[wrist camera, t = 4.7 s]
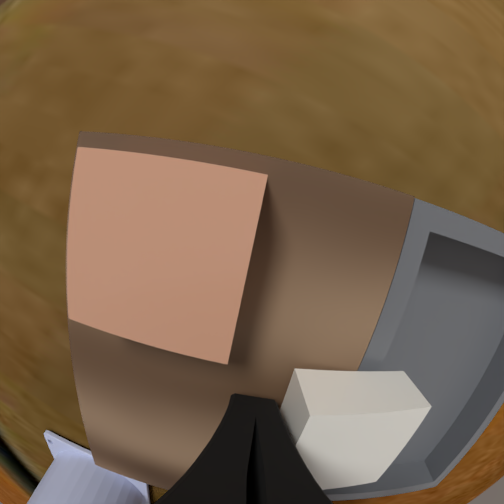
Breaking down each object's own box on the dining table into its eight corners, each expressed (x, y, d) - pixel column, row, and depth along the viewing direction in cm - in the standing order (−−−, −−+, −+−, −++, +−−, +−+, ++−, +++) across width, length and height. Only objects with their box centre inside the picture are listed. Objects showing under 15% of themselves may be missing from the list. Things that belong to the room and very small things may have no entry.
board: (277, 466, 14) (278, 507, 11) (114, 429, 13) (95, 464, 11) (376, 191, 10) (414, 196, 7) (123, 140, 10) (79, 131, 7)
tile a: (360, 446, 10) (375, 481, 8) (264, 449, 9) (270, 492, 7) (403, 370, 9) (431, 406, 7) (294, 368, 8) (310, 415, 6)
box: (424, 461, 14) (435, 486, 11) (282, 466, 14) (283, 500, 11) (533, 251, 10) (564, 264, 8) (383, 193, 10) (415, 198, 8)
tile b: (235, 323, 8) (227, 364, 6) (104, 290, 8) (68, 318, 6) (266, 176, 7) (268, 174, 5) (118, 152, 7) (78, 146, 5)
